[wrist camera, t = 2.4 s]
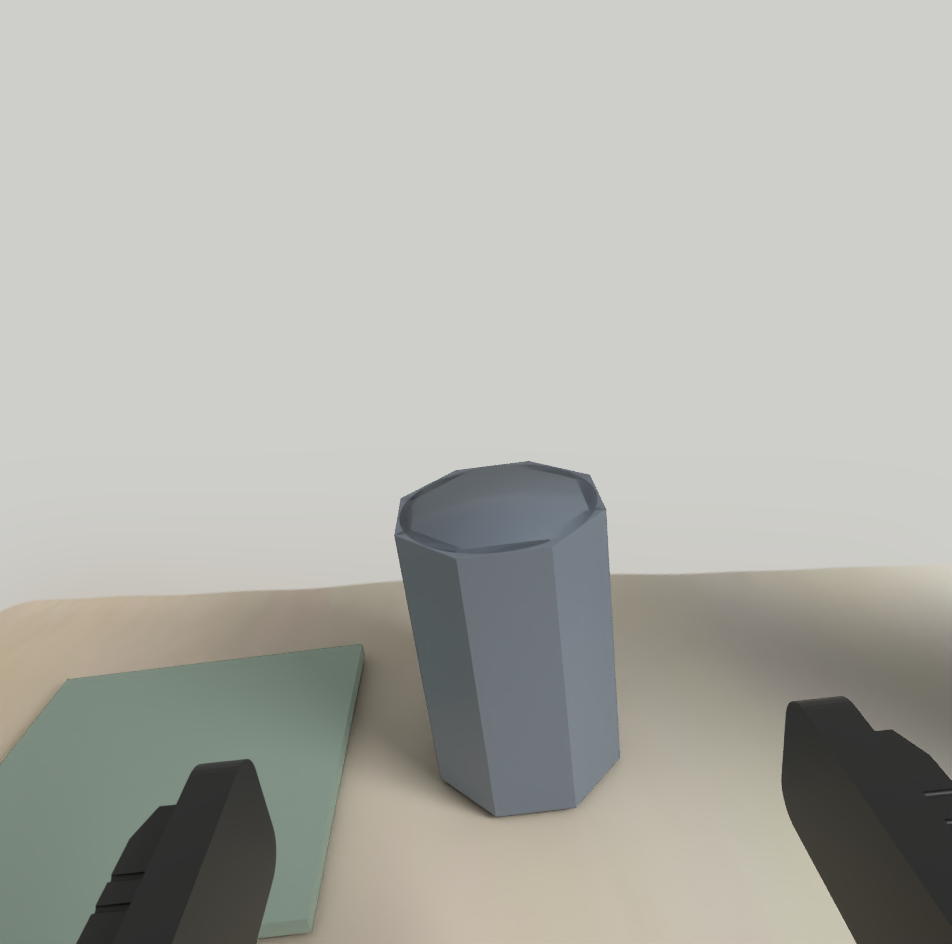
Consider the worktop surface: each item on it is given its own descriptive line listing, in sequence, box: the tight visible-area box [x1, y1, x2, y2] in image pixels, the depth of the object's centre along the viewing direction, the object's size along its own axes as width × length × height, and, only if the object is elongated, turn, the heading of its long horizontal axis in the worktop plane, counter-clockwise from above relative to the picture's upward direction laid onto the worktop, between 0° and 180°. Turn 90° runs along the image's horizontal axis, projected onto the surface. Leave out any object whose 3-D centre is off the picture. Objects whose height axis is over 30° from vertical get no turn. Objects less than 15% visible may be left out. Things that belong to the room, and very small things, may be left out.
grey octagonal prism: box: [394, 461, 620, 817], centre depth 24 cm, size 6×6×10 cm
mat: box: [0, 644, 365, 944], centre depth 26 cm, size 14×13×1 cm
